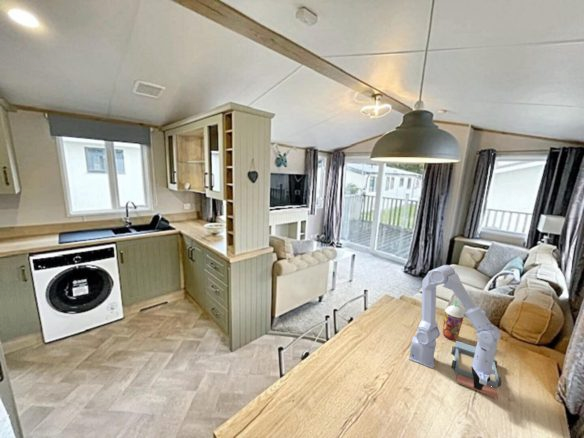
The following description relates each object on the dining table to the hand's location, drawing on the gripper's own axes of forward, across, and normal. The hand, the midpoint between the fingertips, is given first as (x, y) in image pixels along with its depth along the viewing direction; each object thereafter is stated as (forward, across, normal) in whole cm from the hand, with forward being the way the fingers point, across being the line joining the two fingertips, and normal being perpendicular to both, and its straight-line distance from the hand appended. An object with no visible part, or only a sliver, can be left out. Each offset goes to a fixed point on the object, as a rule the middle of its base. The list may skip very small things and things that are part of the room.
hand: (477, 388), depth 99 cm
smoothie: (+2, +34, +9) cm, 35 cm away
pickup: (+1, +15, 0) cm, 15 cm away
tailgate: (+1, +5, 0) cm, 5 cm away
